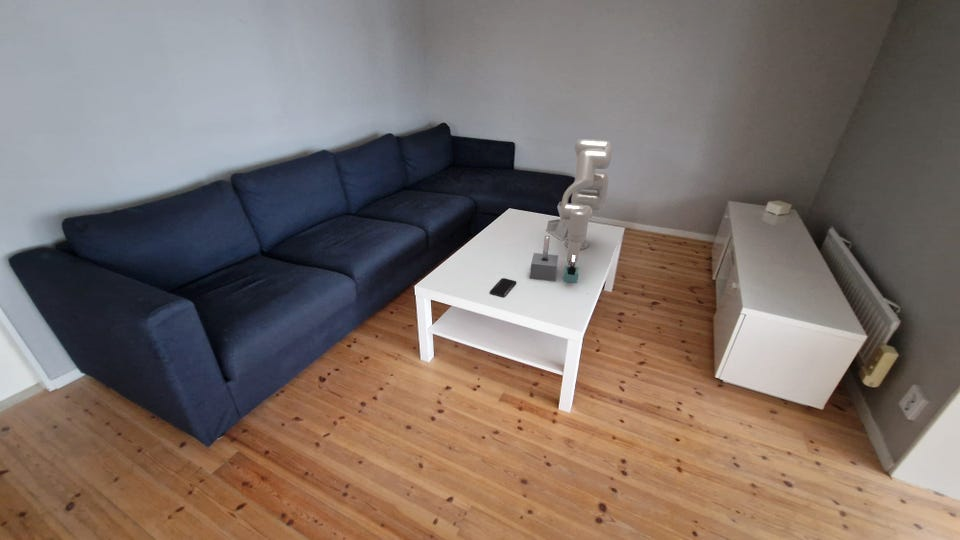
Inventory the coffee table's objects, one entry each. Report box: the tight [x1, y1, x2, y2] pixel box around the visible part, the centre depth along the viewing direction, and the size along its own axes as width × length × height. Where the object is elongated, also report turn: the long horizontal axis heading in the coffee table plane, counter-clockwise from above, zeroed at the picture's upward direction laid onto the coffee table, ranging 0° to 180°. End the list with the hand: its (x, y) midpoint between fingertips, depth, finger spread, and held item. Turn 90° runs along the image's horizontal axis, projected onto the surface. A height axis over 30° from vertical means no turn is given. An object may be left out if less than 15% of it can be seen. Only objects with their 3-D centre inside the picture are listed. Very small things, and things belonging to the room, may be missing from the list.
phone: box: [489, 277, 517, 298], centre depth 181 cm, size 8×1×15 cm
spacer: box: [562, 265, 579, 284], centre depth 188 cm, size 6×6×5 cm
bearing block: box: [529, 252, 559, 282], centre depth 191 cm, size 12×12×8 cm
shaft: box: [542, 235, 550, 261], centre depth 187 cm, size 2×2×14 cm
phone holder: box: [546, 201, 569, 242], centre depth 232 cm, size 17×10×18 cm, turn 24°
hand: (571, 269), depth 186 cm, fingers open, 9 cm apart
